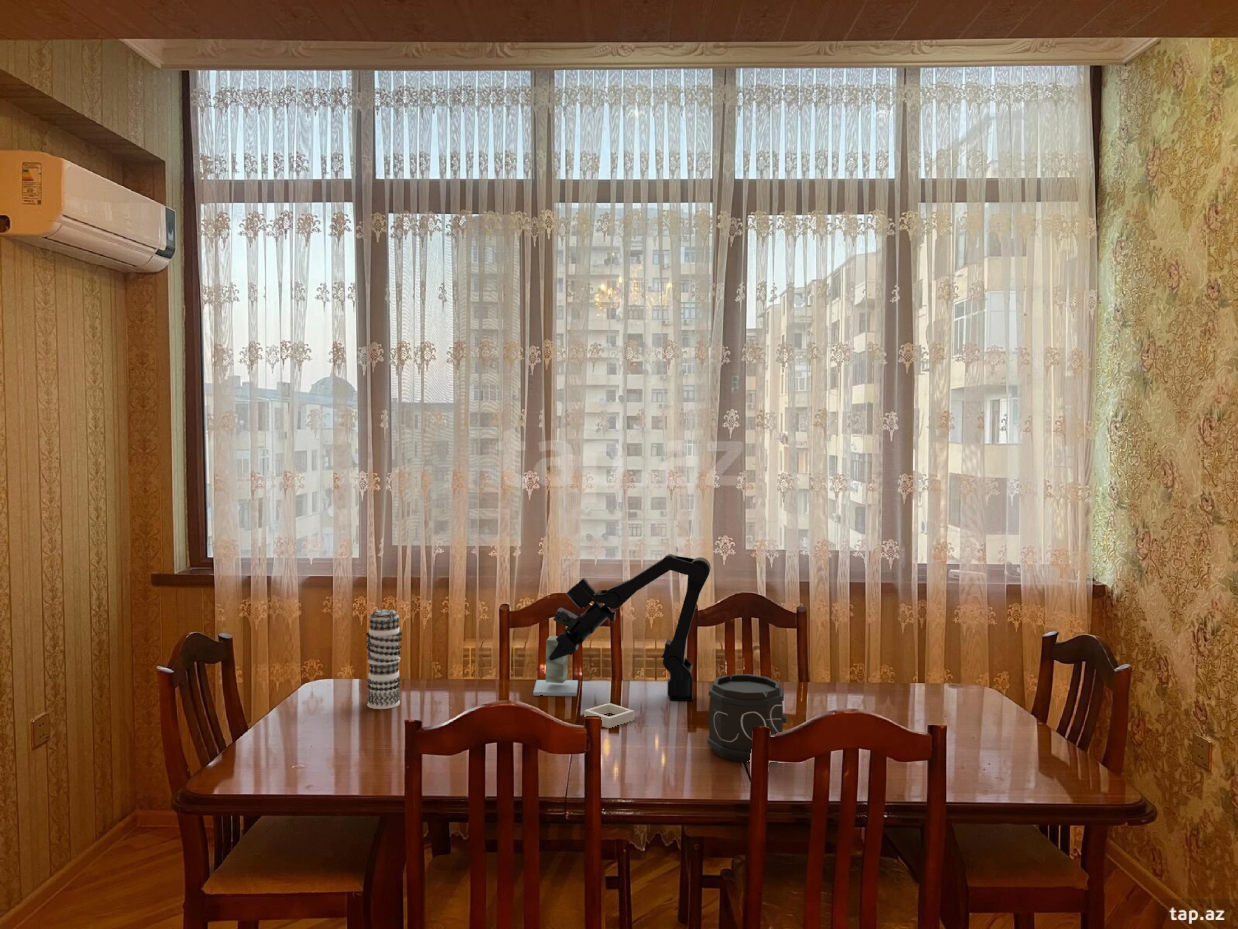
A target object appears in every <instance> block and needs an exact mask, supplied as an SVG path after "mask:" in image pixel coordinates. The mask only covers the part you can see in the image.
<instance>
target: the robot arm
mask: <svg viewBox="0 0 1238 929" xmlns="http://www.w3.org/2000/svg"><path fill="white" fill-rule="evenodd" d="M711 566H712V565H711V563H710V561H709V560H708V559H707V558H706V557H705V558H704V557H700V556H699V557H696V558H692V557H686V556H679V555H674V554H672V553H670V554H669V553H667V555H665V556H664V557H663V558H661V559H660V560H658V561H657V562H654V564H652V565H650V566H649V567H647V568H645V569H644V570H643V571H641V572H640V573H638V574H636V575H635V576H633V577H632V578H630V579H627V580H625V581H621V582H619V583H616V584H614V585H611V586H610V587H608V589H607V588H606V589H600V590H595V589H594V588H593V587H592V585H591V584H589V582H588V580H587V579H586V578H582V579H581V580H580V581H579V582H577V583H576V584H575V585H574V586H572V587H571V588H570V589H569V590H568V591H566V593H565V595H566V596H567V597H568V598H569V599H570V600H571V601H572V603H574V604H575V606H577V607H578V609H580V608H581V609H584V610H585V608H587V607H588V606H589V607H588V608H587V609H586V610H585V611H584V612H583V613H580V614H579V615H576V614H574V613H573V612H571V611H570V610H568V609H565V608H563V607H559V608H558V609H557V610H556V612H555V614H554V617H553V619H552V620H553V621H554V622H556V623H559V624H561V625H563V626H565V629H564V631H562V632H561V633H560V634H559V635H558V637H557V638H556V640H557V642H558V645H557V646H556V648H555V649H554V651H553V652H552V654H551V655H550V657H549V659H550V660H551V661H552V660H555V659H557V658H560V657H563V656H566V655H567V656H568V655H570V656H572V655H573V654H575V652H576V651H577V650H578V649H579V646H580V645H582V644H583V642H585V640H587V639H588V638H589V636H590V635H592V634H593V633H594V632H595V631H596V630H597V629H598V628H599V627H600V626H601V625H602V624H603V623H604V622H605V621H607V620H608V619H609V620H610V621H611V623H614V622H615V620H616V619H617V616H616V615H617V614H616V613H617V610H616V609H619V608H620V607H622V606H623V605H624V604H625V603H626V602H627V601H628V600H629V599H630V598H631V597H632V596H633V595H635V593H636V592H638V591H639V590H641V589H642V588H644V587H645V586H647V585H649V584H650V583H652V582H654V581H655V580H657V579H658V578H661V577H662V576H663V575H665V574H666V573H668V572H670V571H672V572H676V573H679V574H681V575H685V576H687V584H686V586H687V588H686V592H685V596H684V599H683V603H682V607H681V611H680V614H679V617H678V621H677V623H676V624H677V625H676V628H675V632H674V635H673V638H672V639H669V638H667V639H666V641H665V643H664V650H663V652H662V654H661V659H662V665H663V667H664V669H665V670H666V671H667V672H668V673H669V678H668V679H667V680H666V682H667V683H666V684H667V685H666V694H667V696H668V698H669V700H670V701H694V697H693V694H694V693H693V690H694V689H693V688H694V687H693V686H694V685H693V684H694V676H693V673H692V670H693V666H694V665H693V663H692V662H690V661H689V659H688V658H687V656H686V654H687V647H688V646H687V643H688V636H689V633H690V629H691V625H692V621H693V619H694V616H695V615H694V614H695V612H696V607H697V604H698V601H699V597H700V594H701V591H702V589H703V587H704V585H705V584H706V581H707V580H708V578H709V575H710V572H711V568H712V567H711ZM592 602H593V603H592ZM591 603H592V604H591ZM590 604H591V605H590ZM612 609H613V610H612Z"/></svg>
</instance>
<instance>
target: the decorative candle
mask: <svg viewBox="0 0 1238 929" xmlns="http://www.w3.org/2000/svg"><path fill="white" fill-rule="evenodd" d="M367 618H368V619H369V628H368V632H366V634H365V636H366V637H367V639H366V644H367V646H366V649H367V651H368V652H367V653H366V657H367V663H369V665H368V666H369V671H368V678H367V683H368V684H367V689H368V691H367V693H366V695H367V698H366V699H367V707H368V708H370V709H374V710H386V709H393V708H396V707H398V706H400V703H401V701H400V699H401V695H400V694H401V689H400V686H401V683H400V681H401V677H400V670H399V662H401V657H399V655H401V654H402V651H401V650H400V649H401V648H402V645H401V644H399V643H400V642H401V641H402V640H403V638H402V637H400V636H402V635H403V632H402V631H401V630H400V626H399V624H400V620H399V619H400V615H399V614H398V613H397V611H396V610H394V609H389V608H385V609H384V608H383V609H381V608H380V609H375V610H374V611H373V612H372V613H371V615H368V617H367Z"/></svg>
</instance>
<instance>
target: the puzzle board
mask: <svg viewBox="0 0 1238 929" xmlns="http://www.w3.org/2000/svg"><path fill="white" fill-rule="evenodd" d="M607 713H612V714H615V715H610V716H608V714H607ZM604 714H607V715H604ZM583 715H584V716H583V717H586V716H599V717H601V720H602V726H601V727H603V728H607V729H609V728H610V729H612V727H613V728H615V726H616V727H618V726H617V725H619V726H621V725H620V724H622V725H625V724H627V722H628V721H631V722H633V721H632V720H634V721H635V710H632V709H630V708H627V707H623V706H620V705H618V704H614V703H611V702H607V703H604V704H600V705H597V706H594V707H591V708H587V709H584V711H583ZM624 723H625V724H624ZM628 723H629V722H628Z"/></svg>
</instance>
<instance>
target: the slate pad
mask: <svg viewBox="0 0 1238 929" xmlns="http://www.w3.org/2000/svg"><path fill="white" fill-rule="evenodd" d="M578 686H579V680H573V679H571V680H569V679H568V680H567V679H566V680H565V681H564V683H550V682H546V679H536V681H535V684H534V688H533V691H532V693H533V694H532V696H533V697H534V696H535V697H537V696H539V697H541V696H540V695H543V696H542V697H578V696H577V694H578Z"/></svg>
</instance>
